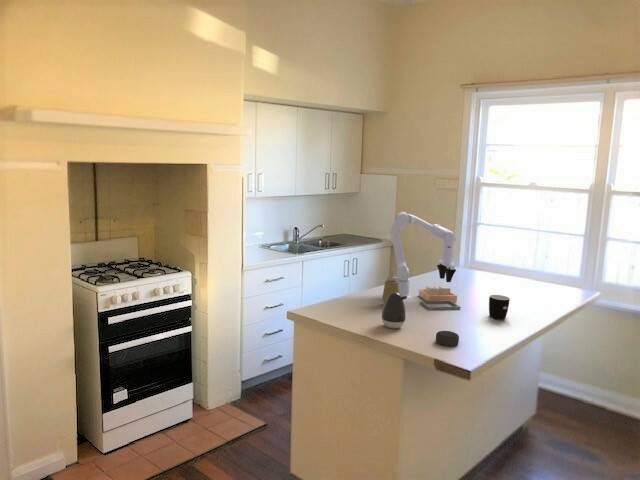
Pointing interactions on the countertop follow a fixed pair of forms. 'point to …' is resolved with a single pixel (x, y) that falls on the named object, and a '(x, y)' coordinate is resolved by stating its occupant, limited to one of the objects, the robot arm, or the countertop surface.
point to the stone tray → (440, 305)
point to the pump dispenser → (394, 311)
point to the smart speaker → (447, 338)
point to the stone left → (431, 290)
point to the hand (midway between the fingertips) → (445, 280)
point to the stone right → (444, 290)
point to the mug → (498, 306)
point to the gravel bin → (437, 296)
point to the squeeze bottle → (390, 286)
